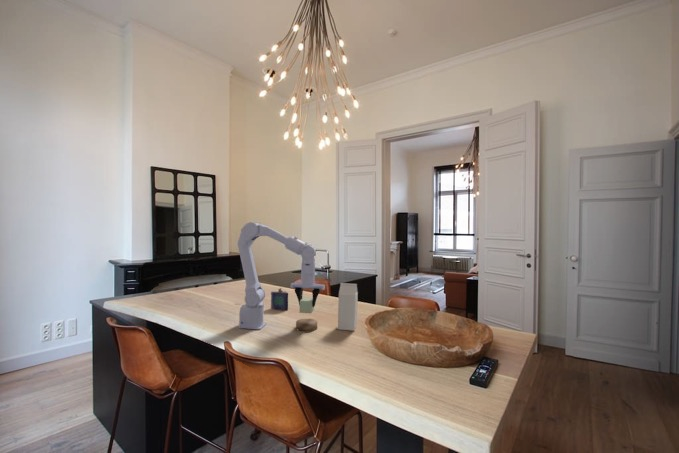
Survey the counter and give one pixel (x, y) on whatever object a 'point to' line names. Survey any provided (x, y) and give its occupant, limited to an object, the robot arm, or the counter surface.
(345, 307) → the milk carton
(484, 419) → the counter surface
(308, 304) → the cube
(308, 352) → the counter surface
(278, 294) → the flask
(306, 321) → the base
